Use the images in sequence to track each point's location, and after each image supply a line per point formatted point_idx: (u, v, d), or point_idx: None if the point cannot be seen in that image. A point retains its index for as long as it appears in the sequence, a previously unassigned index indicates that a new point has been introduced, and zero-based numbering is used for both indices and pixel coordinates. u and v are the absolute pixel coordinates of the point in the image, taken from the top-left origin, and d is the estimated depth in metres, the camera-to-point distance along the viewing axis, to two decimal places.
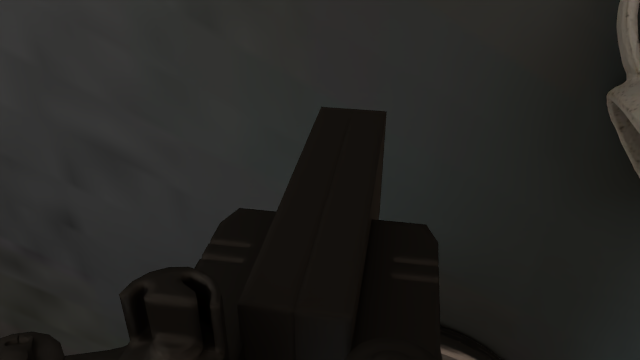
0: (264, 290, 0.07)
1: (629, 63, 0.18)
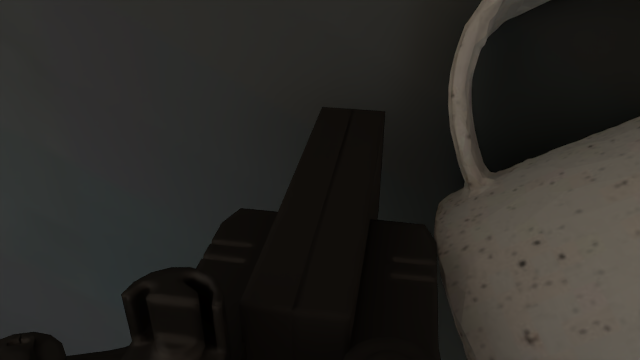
0: (266, 290, 0.07)
1: (459, 166, 0.12)
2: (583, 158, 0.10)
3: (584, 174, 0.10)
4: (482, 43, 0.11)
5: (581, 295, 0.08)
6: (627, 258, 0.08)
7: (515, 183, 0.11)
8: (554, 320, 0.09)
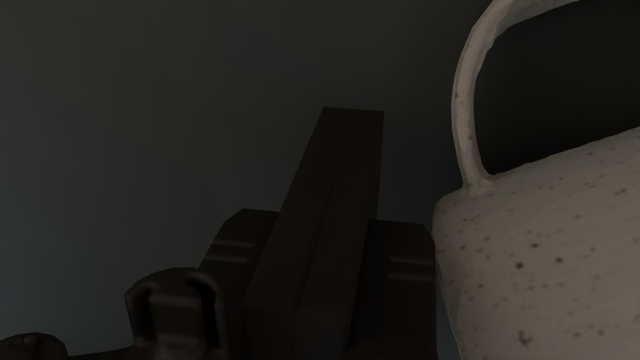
0: (268, 290, 0.07)
1: (459, 166, 0.12)
2: (583, 165, 0.10)
3: (583, 180, 0.10)
4: (489, 45, 0.11)
5: (576, 298, 0.09)
6: (623, 265, 0.09)
7: (514, 186, 0.11)
8: (549, 322, 0.09)
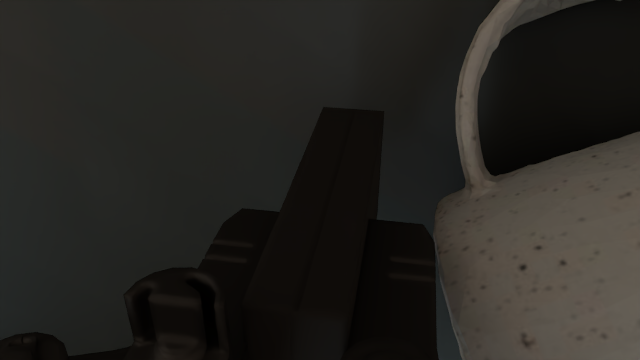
0: (268, 290, 0.07)
1: (462, 167, 0.12)
2: (587, 167, 0.10)
3: (588, 183, 0.10)
4: (495, 46, 0.11)
5: (580, 301, 0.09)
6: (628, 268, 0.08)
7: (517, 187, 0.11)
8: (553, 326, 0.09)
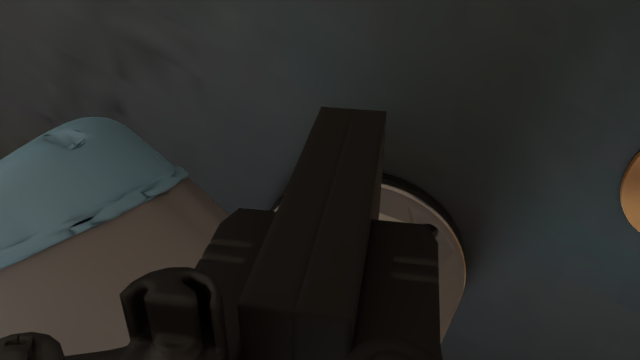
0: (264, 290, 0.07)
1: None
2: None
3: None
4: None
5: None
6: None
7: None
8: None
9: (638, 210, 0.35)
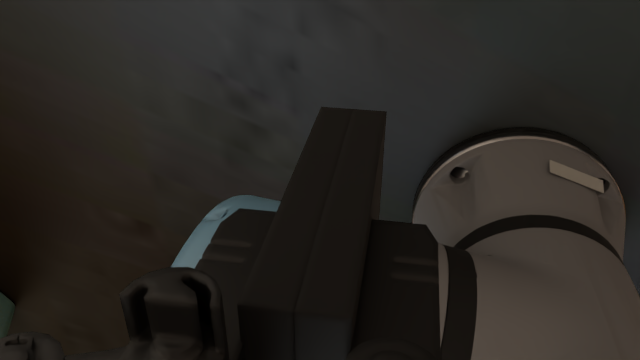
0: (264, 290, 0.07)
1: None
2: None
3: None
4: None
5: None
6: None
7: None
8: None
9: None
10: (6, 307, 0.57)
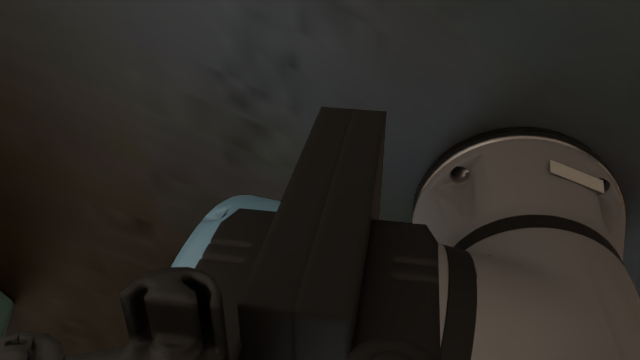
0: (264, 290, 0.07)
1: None
2: None
3: None
4: None
5: None
6: None
7: None
8: None
9: None
10: (5, 305, 0.57)
